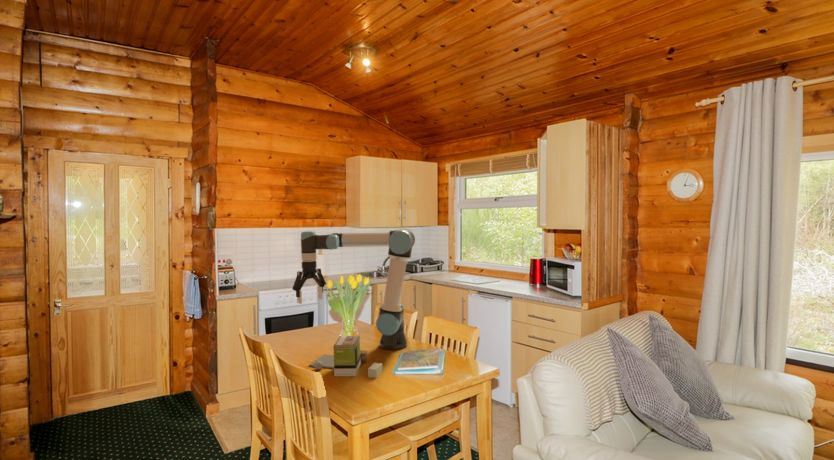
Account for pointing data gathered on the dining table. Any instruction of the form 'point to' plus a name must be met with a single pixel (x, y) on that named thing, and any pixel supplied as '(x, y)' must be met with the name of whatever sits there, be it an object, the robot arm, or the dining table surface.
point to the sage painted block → (375, 370)
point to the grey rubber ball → (318, 365)
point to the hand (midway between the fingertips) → (310, 301)
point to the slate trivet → (325, 361)
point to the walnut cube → (363, 356)
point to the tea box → (347, 356)
